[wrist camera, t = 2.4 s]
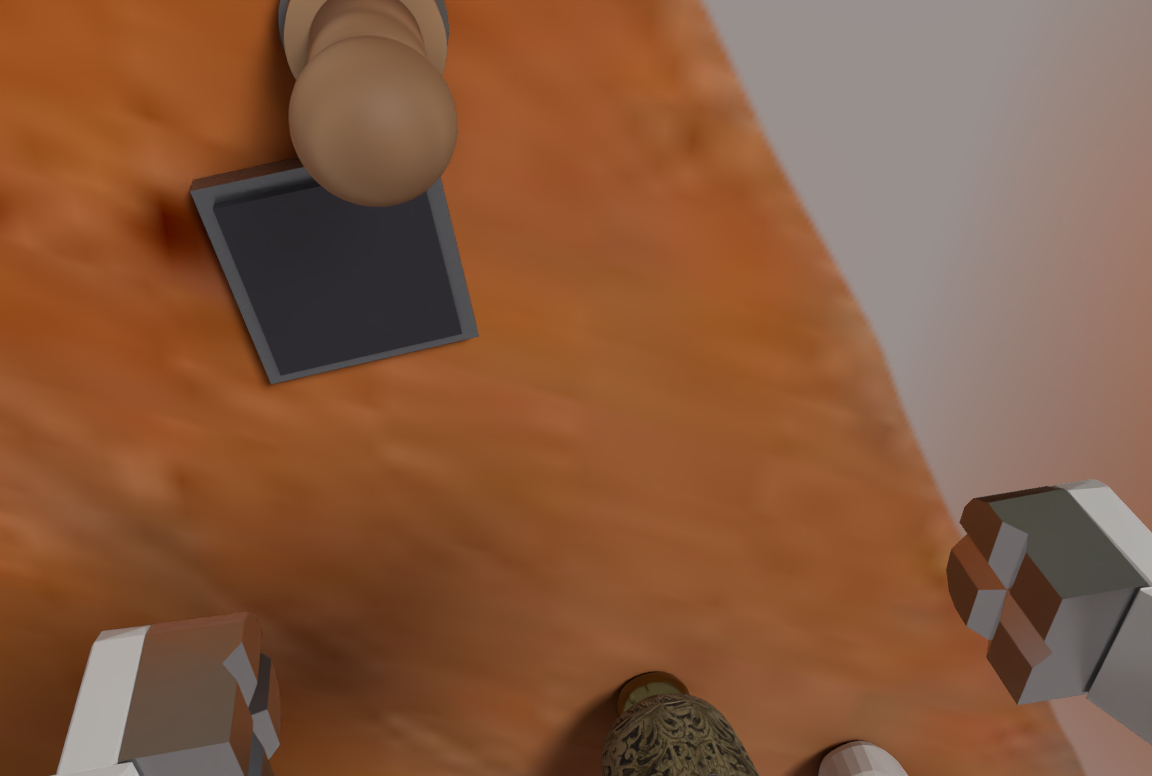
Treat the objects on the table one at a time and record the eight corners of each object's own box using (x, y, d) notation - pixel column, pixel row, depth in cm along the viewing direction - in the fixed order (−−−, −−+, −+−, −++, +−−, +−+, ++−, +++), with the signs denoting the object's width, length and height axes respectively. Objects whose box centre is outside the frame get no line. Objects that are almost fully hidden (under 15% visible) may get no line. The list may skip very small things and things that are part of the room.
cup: (566, 743, 48) (601, 903, 42) (583, 647, 44) (625, 808, 38) (705, 727, 50) (759, 878, 43) (734, 633, 46) (798, 785, 39)
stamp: (309, 109, 27) (299, 277, 19) (257, -54, 25) (221, 64, 17) (459, 78, 28) (509, 231, 20) (424, -86, 25) (466, 15, 17)
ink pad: (272, 370, 32) (270, 391, 31) (193, 180, 28) (188, 197, 27) (475, 324, 32) (480, 342, 32) (429, 130, 28) (432, 145, 27)
